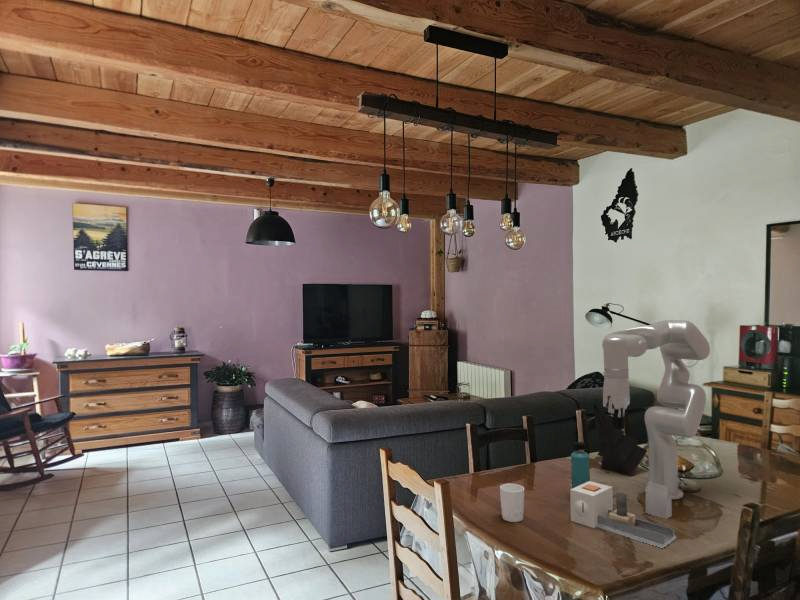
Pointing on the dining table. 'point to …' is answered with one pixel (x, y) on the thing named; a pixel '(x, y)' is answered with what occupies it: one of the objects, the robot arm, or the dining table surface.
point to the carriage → (622, 511)
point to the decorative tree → (616, 446)
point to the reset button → (591, 488)
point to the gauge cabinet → (590, 504)
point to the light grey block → (658, 500)
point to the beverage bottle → (579, 465)
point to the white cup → (512, 502)
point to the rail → (639, 530)
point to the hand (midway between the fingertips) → (618, 428)
